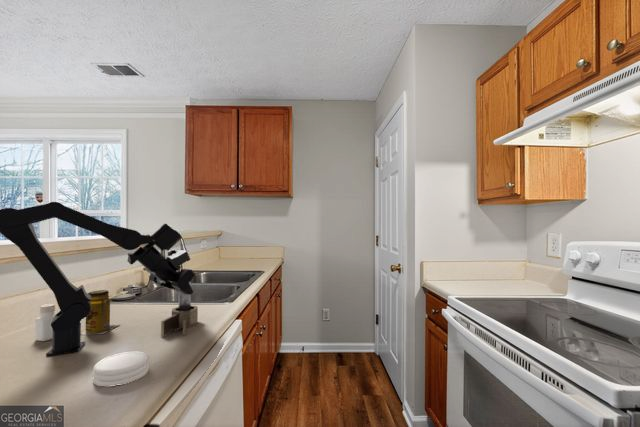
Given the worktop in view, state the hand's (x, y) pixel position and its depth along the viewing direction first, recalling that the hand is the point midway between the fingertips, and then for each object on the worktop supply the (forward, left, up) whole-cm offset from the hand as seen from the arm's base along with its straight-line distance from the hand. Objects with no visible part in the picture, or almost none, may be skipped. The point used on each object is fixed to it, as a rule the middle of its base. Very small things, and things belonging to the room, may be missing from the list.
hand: (188, 292), depth 101 cm
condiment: (+4, +25, -10) cm, 28 cm away
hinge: (-5, +2, -10) cm, 11 cm away
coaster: (-33, +13, -10) cm, 37 cm away
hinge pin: (-1, +1, -7) cm, 7 cm away
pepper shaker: (+1, +37, -10) cm, 39 cm away
